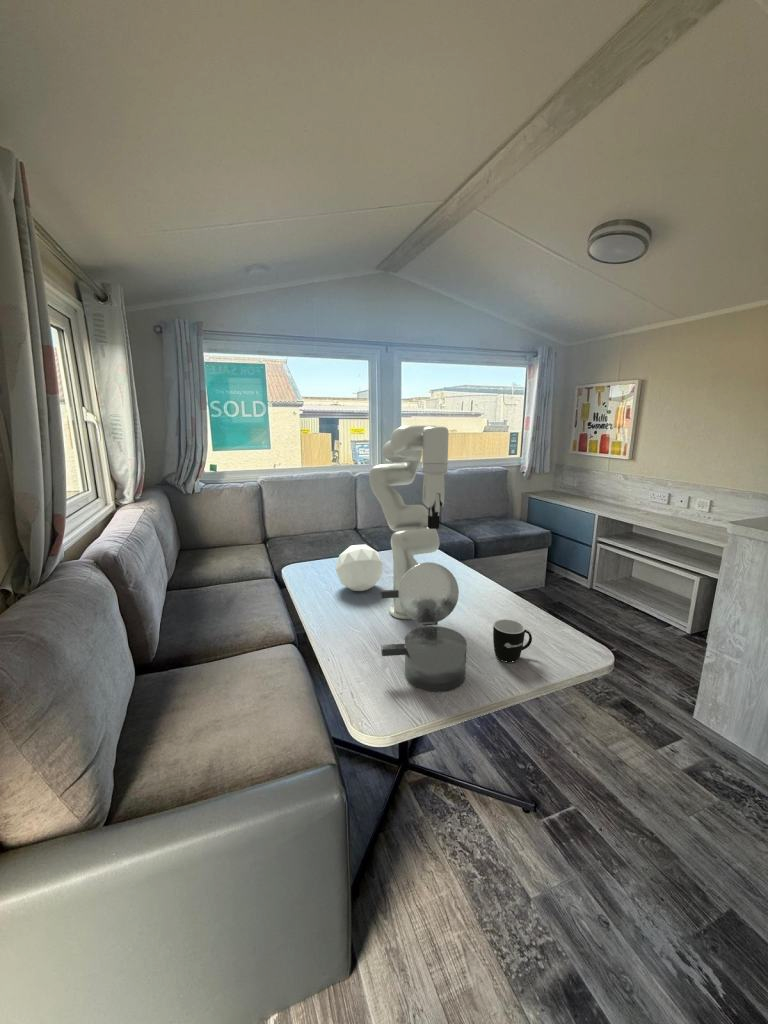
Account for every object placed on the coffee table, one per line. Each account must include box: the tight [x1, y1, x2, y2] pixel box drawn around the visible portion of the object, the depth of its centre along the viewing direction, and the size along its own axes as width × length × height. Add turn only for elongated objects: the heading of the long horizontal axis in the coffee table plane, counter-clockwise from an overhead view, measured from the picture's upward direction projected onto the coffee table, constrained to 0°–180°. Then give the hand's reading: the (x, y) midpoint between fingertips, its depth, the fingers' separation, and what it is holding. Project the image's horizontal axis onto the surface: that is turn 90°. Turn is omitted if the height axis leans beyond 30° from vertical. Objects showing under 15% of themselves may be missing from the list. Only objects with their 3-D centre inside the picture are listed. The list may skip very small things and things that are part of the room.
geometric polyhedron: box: [335, 543, 383, 592], centre depth 176 cm, size 19×20×20 cm
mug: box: [492, 618, 533, 663], centre depth 126 cm, size 12×9×10 cm
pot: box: [380, 625, 468, 693], centre depth 118 cm, size 17×24×10 cm
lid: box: [380, 561, 460, 627], centre depth 125 cm, size 19×23×2 cm
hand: (433, 527), depth 130 cm, fingers closed
